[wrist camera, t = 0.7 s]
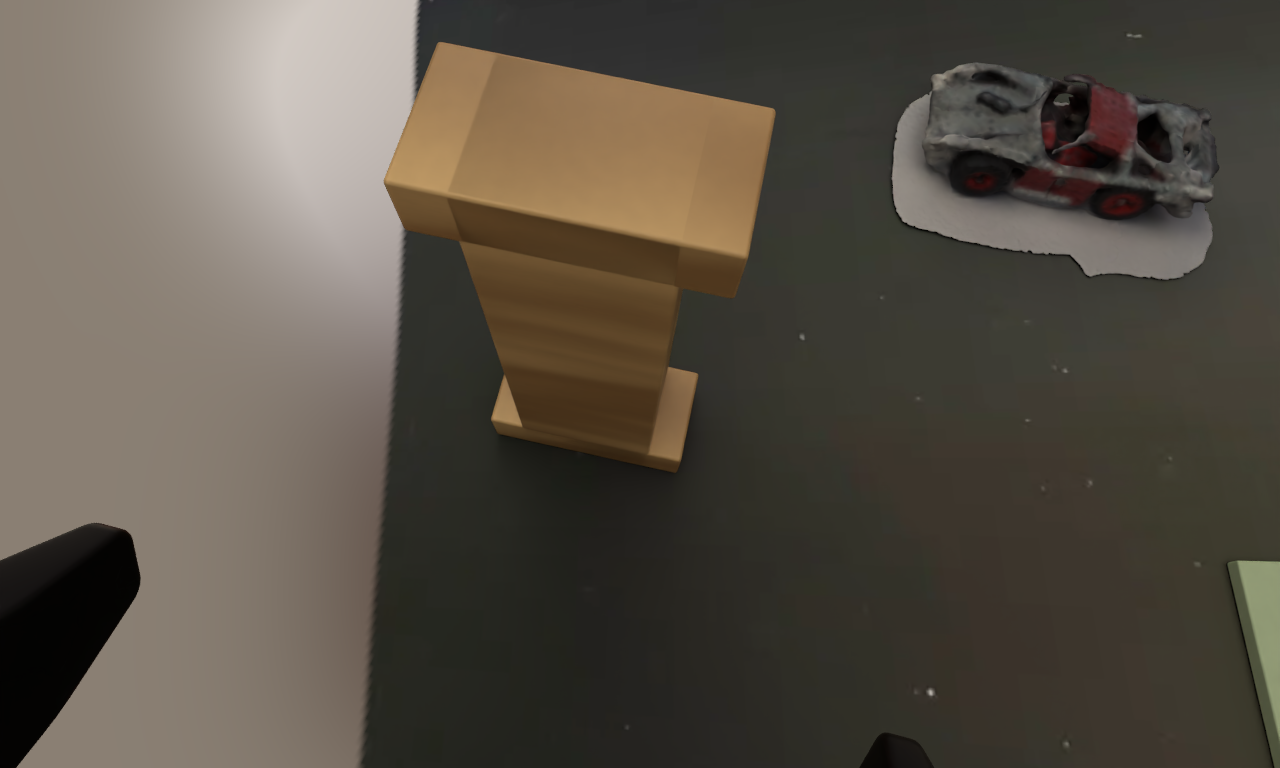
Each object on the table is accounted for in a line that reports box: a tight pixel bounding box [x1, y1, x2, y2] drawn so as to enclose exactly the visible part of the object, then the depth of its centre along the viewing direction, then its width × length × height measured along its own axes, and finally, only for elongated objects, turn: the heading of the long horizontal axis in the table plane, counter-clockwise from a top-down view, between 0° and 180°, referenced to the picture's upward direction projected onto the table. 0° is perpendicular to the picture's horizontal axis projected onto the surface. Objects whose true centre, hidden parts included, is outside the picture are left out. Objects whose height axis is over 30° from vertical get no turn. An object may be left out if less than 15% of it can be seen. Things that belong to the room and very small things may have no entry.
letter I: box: [384, 42, 776, 473], centre depth 20 cm, size 3×6×14 cm, turn 78°
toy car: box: [891, 62, 1219, 280], centre depth 29 cm, size 8×12×3 cm
